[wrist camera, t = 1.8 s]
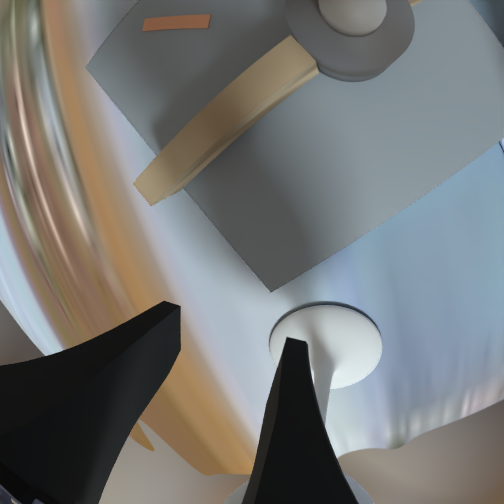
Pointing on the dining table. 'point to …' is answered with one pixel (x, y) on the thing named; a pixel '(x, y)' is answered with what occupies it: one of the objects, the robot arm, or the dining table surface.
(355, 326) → the wineglass
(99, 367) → the robot arm
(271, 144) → the grey flat slab
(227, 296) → the dining table surface
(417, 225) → the dining table surface
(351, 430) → the dining table surface
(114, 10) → the dining table surface
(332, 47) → the curved bar with hub
